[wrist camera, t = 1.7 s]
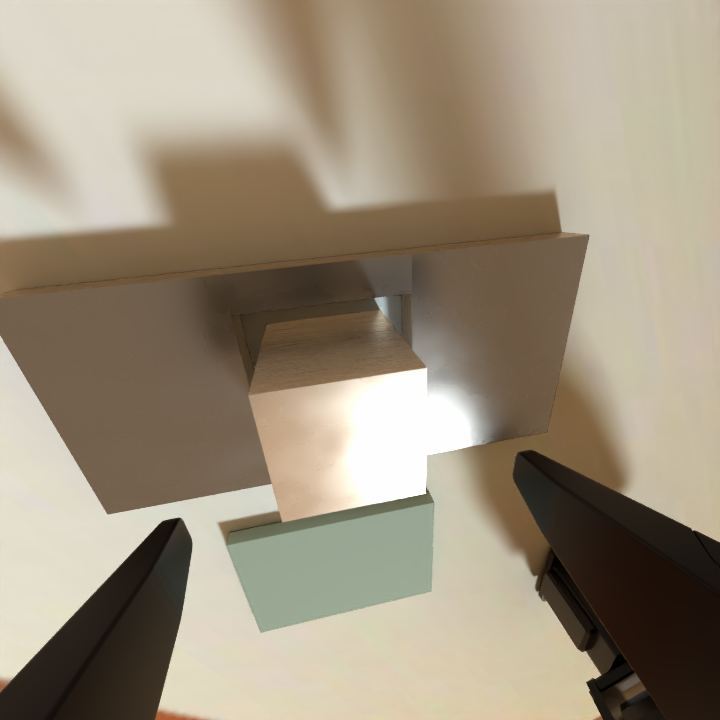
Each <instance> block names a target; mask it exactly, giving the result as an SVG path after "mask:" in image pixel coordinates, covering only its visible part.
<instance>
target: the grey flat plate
mask: <svg viewBox="0 0 720 720" xmlns="http://www.w3.org/2000/svg"><path fill="white" fill-rule="evenodd" d="M588 240H589V235H587V234H576V233H565V232H561V233H551V234H542V235H532V236H523V237H513V238H504V239H494V240H485V241H475V242H466V243H456V244H447V245H437V246H428V247H418V248H409V249H399V250H390V251H380V252H371V253H362V254H352V255H343V256H333V257H324V258H314V259H305V260H295V261H286V262H276V263H267V264H257V265H248V266H238V267H229V268H219V269H210V270H200V271H191V272H181V273H172V274H162V275H153V276H144V277H134V278H125V279H115V280H106V281H96V282H87V283H77V284H68V285H58V286H49V287H39V288H30V289H20V290H14V291H10V292H7V293H3V294H0V336H1V337H2V339H3V341H4V342H5V344H6V346H7V347H8V349H9V351H10V352H11V354H12V356H13V357H14V359H15V361H16V362H17V364H18V366H19V367H20V369H21V371H22V372H23V374H24V376H25V377H26V379H27V381H28V382H29V384H30V386H31V387H32V389H33V391H34V392H35V394H36V396H37V397H38V399H39V401H40V402H41V404H42V406H43V407H44V409H45V411H46V412H47V414H48V416H49V417H50V419H51V421H52V422H53V424H54V426H55V427H56V429H57V431H58V432H59V434H60V436H61V437H62V439H63V441H64V442H65V444H66V446H67V447H68V449H69V451H70V452H71V454H72V456H73V457H74V459H75V461H76V462H77V464H78V466H79V467H80V469H81V471H82V472H83V474H84V476H85V477H86V479H87V481H88V482H89V484H90V486H91V487H92V489H93V491H94V492H95V494H96V496H97V497H98V499H99V501H100V502H101V504H102V506H103V507H104V509H105V511H106V512H107V514H113V513H118V512H124V511H129V510H134V509H140V508H145V507H150V506H156V505H161V504H166V503H172V502H177V501H182V500H188V499H193V498H198V497H204V496H209V495H214V494H220V493H225V492H230V491H236V490H241V489H246V488H252V487H257V486H262V485H268V484H272V482H271V479H270V475H269V471H268V467H267V464H266V460H265V456H264V453H263V449H262V445H261V441H260V438H259V434H258V430H257V426H256V423H255V419H254V415H253V411H252V408H251V404H250V400H249V396H248V394H249V390H250V387H251V383H252V379H253V375H254V371H253V367H252V363H251V359H250V355H249V351H248V347H247V342H246V338H245V334H244V330H243V326H242V322H241V318H240V314H246V313H254V312H262V311H271V310H279V309H287V308H295V307H303V306H311V305H319V304H327V303H336V302H344V301H352V300H360V299H368V298H376V297H384V296H392V295H401V300H402V338H403V339H404V340H405V341H406V342H407V344H408V345H409V346H410V347H411V349H412V350H413V351H414V352H415V354H416V355H417V356H418V357H419V358H420V360H421V361H422V362H423V363H424V365H425V366H426V367H427V412H426V455H428V454H433V453H438V452H444V451H449V450H454V449H460V448H465V447H470V446H476V445H481V444H486V443H492V442H497V441H502V440H508V439H513V438H518V437H524V436H529V435H534V434H540V433H545V432H547V430H548V425H549V420H550V416H551V411H552V407H553V402H554V397H555V393H556V388H557V383H558V379H559V374H560V369H561V365H562V360H563V356H564V351H565V346H566V342H567V337H568V332H569V328H570V323H571V318H572V314H573V309H574V304H575V300H576V295H577V291H578V286H579V281H580V277H581V272H582V267H583V263H584V258H585V253H586V249H587V244H588Z"/></svg>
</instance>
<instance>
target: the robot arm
mask: <svg viewBox="0 0 720 720" xmlns="http://www.w3.org/2000/svg"><path fill="white" fill-rule="evenodd" d="M513 479H514V482H515V484H516V486H517V488H518V489H519V491H520V493H521V495H522V497H523V499H524V501H525V502H526V504H527V506H528V508H529V510H530V512H531V514H532V515H533V517H534V519H535V521H536V523H537V525H538V526H539V528H540V530H541V532H542V533H543V535H544V537H545V538H546V540H547V541H548V543H549V544H550V546H551V547H552V550H551V551H550V554H549V558H548V561H547V565H546V569H545V572H544V576H543V579H542V583H541V587H540V590H539V597H540V598H541V600H542V601H547V602H548V603H549V605H550V606H551V608H552V610H553V611H554V613H555V614H556V616H557V617H558V619H559V621H560V622H561V624H562V625H563V627H564V628H565V630H566V632H567V633H568V635H569V636H570V638H571V639H572V641H573V643H574V644H575V646H576V647H577V649H579V650H580V651H581V652H584V651H586V652H587V654H588V655H589V657H590V658H591V660H592V661H593V663H594V664H595V666H596V667H597V669H598V670H599V672H600V674H601V676H600V677H598V678H596V679H594V678H592V679H591V680H589V681H587V682H586V683H587V685H588V687H589V689H590V691H589V693H590V695H591V696H592V698H593V700H594V702H595V704H596V706H597V708H598V710H599V712H600V714H601V716H602V718H603V720H720V542H718V541H716V540H714V539H712V538H710V537H708V536H706V535H704V534H702V533H700V532H698V531H695V530H694V531H692V529H691V528H689V527H687V526H685V525H683V524H681V523H679V522H677V521H675V520H673V519H671V518H669V517H667V516H665V515H663V514H661V513H659V512H657V511H655V510H653V509H651V508H649V507H647V506H645V505H643V504H641V503H639V502H637V501H635V500H632V499H630V498H628V497H626V496H624V495H622V494H620V493H618V492H616V491H614V490H612V489H610V488H608V487H606V486H604V485H602V484H600V483H598V482H596V481H594V480H592V479H590V478H588V477H586V476H584V475H582V474H580V473H578V472H576V471H574V470H572V469H570V468H568V467H566V466H564V465H562V464H560V463H558V462H556V461H553V460H551V459H549V458H547V457H545V456H543V455H541V454H539V453H537V452H535V451H533V450H527V451H522V452H518V453H517V454H516V457H515V463H514V469H513ZM191 553H192V539H191V536H190V534H189V532H188V530H187V527H186V525H185V523H184V521H183V520H182V519H181V518H174V519H169V520H165V521H163V522H161V523H160V524H159V525H158V526H157V527H156V528H155V529H154V530H153V531H152V532H151V534H150V535H149V536H148V537H147V538H146V539H145V540H144V541H143V542H142V543H141V544H140V545H139V546H138V547H137V548H136V549H135V550H134V551H133V553H132V554H131V555H130V556H129V557H128V558H127V559H126V560H125V561H124V562H123V563H122V564H121V565H120V566H119V567H118V568H117V569H116V570H115V572H114V573H113V574H112V575H111V576H110V577H109V578H108V579H107V580H106V581H105V582H104V583H103V584H102V585H101V586H100V587H99V588H98V589H97V591H96V592H95V593H94V594H93V595H92V596H91V597H90V598H89V599H88V600H87V601H86V602H85V603H84V604H83V605H82V606H81V607H80V608H79V610H78V611H77V612H76V613H75V614H74V615H73V616H72V617H71V618H70V619H69V620H68V621H67V622H66V623H65V624H64V625H63V626H62V627H61V629H60V630H59V631H58V632H57V633H56V634H55V635H54V636H53V637H52V638H51V639H50V640H49V641H48V642H47V643H46V644H45V645H44V646H43V648H42V649H41V650H40V651H39V652H38V653H37V654H36V655H35V656H34V657H33V658H32V659H31V660H30V661H29V662H28V663H27V664H26V665H25V667H24V668H23V669H22V670H21V671H20V672H19V673H18V674H17V675H16V676H15V677H14V678H13V679H12V680H11V681H10V682H9V683H8V684H7V686H6V687H5V688H4V689H3V690H2V691H1V692H0V720H155V718H156V714H157V710H158V706H159V703H160V699H161V695H162V691H163V687H164V683H165V679H166V675H167V672H168V668H169V664H170V660H171V656H172V652H173V648H174V644H175V641H176V637H177V633H178V629H179V625H180V620H181V616H182V610H183V605H184V598H185V592H186V585H187V579H188V573H189V566H190V560H191Z"/></svg>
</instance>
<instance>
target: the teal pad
mask: <svg viewBox="0 0 720 720" xmlns="http://www.w3.org/2000/svg"><path fill="white" fill-rule="evenodd" d="M433 524H434V501H433V499H432V497H431V495H430V493H429V492H427V493H424V494H419V495H415V496H410V497H405V498H400V499H395V500H390V501H385V502H380V503H375V504H370V505H365V506H360V507H356V508H351V509H346V510H341V511H336V512H331V513H326V514H321V515H316V516H311V517H306V518H301V519H297V520H292V521H287V522H279V523H274V524H269V525H264V526H259V527H255V528H250V529H245V530H240V531H235V532H230V533H229V535H228V540H227V545H226V546H227V548H228V551H229V554H230V556H231V559H232V561H233V564H234V566H235V569H236V571H237V574H238V576H239V579H240V581H241V584H242V587H243V589H244V592H245V594H246V597H247V599H248V602H249V604H250V607H251V609H252V612H253V614H254V617H255V620H256V622H257V625H258V627H259V630H260V632H266V631H270V630H274V629H278V628H282V627H286V626H290V625H294V624H299V623H303V622H307V621H311V620H315V619H319V618H323V617H328V616H332V615H336V614H340V613H344V612H348V611H352V610H357V609H361V608H365V607H369V606H373V605H377V604H381V603H386V602H390V601H394V600H398V599H402V598H406V597H410V596H414V595H419V594H423V593H427V592H431V588H432V556H433Z"/></svg>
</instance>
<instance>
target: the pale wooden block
mask: <svg viewBox="0 0 720 720" xmlns="http://www.w3.org/2000/svg"><path fill="white" fill-rule="evenodd" d="M248 396H249V400H250V404H251V408H252V411H253V415H254V419H255V423H256V426H257V430H258V434H259V438H260V441H261V445H262V449H263V453H264V456H265V460H266V464H267V467H268V471H269V475H270V479H271V482H272V486H273V490H274V494H275V497H276V501H277V505H278V509H279V512H280V516H281V520H282V522H287V521H292V520H297V519H301V518H306V517H311V516H316V515H321V514H326V513H331V512H336V511H341V510H346V509H351V508H356V507H360V506H365V505H370V504H375V503H380V502H385V501H390V500H395V499H400V498H405V497H410V496H415V495H419V494H424V493H425V483H426V412H427V367H426V366H425V365H424V363H423V362H422V361H421V360H420V358H419V357H418V356H417V355H416V354H415V352H414V351H413V350H412V349H411V347H410V346H409V345H408V344H407V342H406V341H405V340H404V339H403V338H402V336H401V335H400V334H399V333H398V331H397V330H396V329H395V328H394V326H393V325H392V324H391V323H390V322H389V320H388V319H387V318H386V317H385V315H384V314H383V313H382V312H381V310H373V311H365V312H357V313H350V314H342V315H334V316H326V317H319V318H311V319H303V320H295V321H287V322H280V323H272V324H267V325H266V329H265V333H264V337H263V340H262V344H261V348H260V352H259V356H258V360H257V364H256V367H255V371H254V375H253V379H252V383H251V387H250V390H249V394H248Z"/></svg>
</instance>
